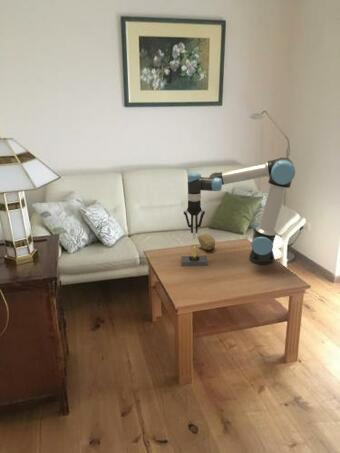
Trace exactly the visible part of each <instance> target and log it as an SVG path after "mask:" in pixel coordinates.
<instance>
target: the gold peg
mask: <svg viewBox="0 0 340 453" xmlns="http://www.w3.org/2000/svg"><path fill="white" fill-rule="evenodd" d="M190 256H191V261H199V260H198V256H199V246H198V244H191V245H190Z"/></svg>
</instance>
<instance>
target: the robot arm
mask: <svg viewBox="0 0 340 453" xmlns="http://www.w3.org/2000/svg"><path fill="white" fill-rule="evenodd" d="M295 175H296V168H295V166H294V163H293V161H292V160H291V159H289V158H287V157H280V158H279V157H278V158H276V159H271V160H267V161H266V162H265V163H261V164H255V165H252V166H246V167H241V168H236V169H231V170H226V171H221V172H212V173H211V174H210V175H209V176H208V177H207V176H206V177H202V175H201V173H199V172H198V173H197V172H192V173H189V174H188V175H187V207H186V208H187V209H186V210H184V211H183V215H184V216H185V220H186V224H187V227H188V228H189V229H190V233H191V234H192V239H196V238H197V236H196V235H197V234H198V230H199V228H201V226H202V222H203V218H204V216H205V214H206V211H205V210H203V209H202V207H201V206H202V205H201V202H202V201H201V198H202V196H201V195H202V194H201V192H202V191H208V192H220V191H222V189H223V186H224V185H229V184H233V183H240V182H245V181H250V180H255V179H260V178H266V177H267V178H269V179H268V182H267V183H268V185H269V190H268V193H267V196H266V200H265V204H264V207H263V210H262V214H261V218H260V221H259V223H255V224H254V225H253V234H252V238H251V244H250V245H251V250H250V252H249V256H248V259H249V261H250V262H251V263H254V264H257V265H270V264H272V263H274V262H275V254H274V251H273V249H274V241H275V239H276V235H277V232H276V230H275V228H276V226H277V225H276V224H277V221H278V218H279V215H280V212H281V209H282V204H283V202H284V198H285V195H286V192H287V190H288V189H290V188H291V185H292V182H293V179H294V178H295ZM188 214H189V215H190V220H189V217H188ZM199 214H200V217H199V218H198V216H199ZM194 217H195V218H194ZM194 219H195V221H194ZM198 219H199V221H198ZM194 223H195V226H194Z"/></svg>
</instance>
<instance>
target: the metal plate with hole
mask: <svg viewBox="0 0 340 453" xmlns="http://www.w3.org/2000/svg"><path fill="white" fill-rule="evenodd" d="M180 261H181V266H182V267H185V266H186V267H189V266H191V267H192V266H193V267H195V266H197V267H198V266H200V267H201V266H209V259H208V256H207V255H198V261H191V255H181V256H180Z"/></svg>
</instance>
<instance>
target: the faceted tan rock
mask: <svg viewBox="0 0 340 453" xmlns="http://www.w3.org/2000/svg"><path fill="white" fill-rule="evenodd" d="M196 238H197V240H198V242H199V244H200V247H201V248H202V250H205V251H210V250H212V249H215V247H216V240H215V239H214V237H213V235H211V234H208V233H204V234H201V235H197V236H196Z"/></svg>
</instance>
